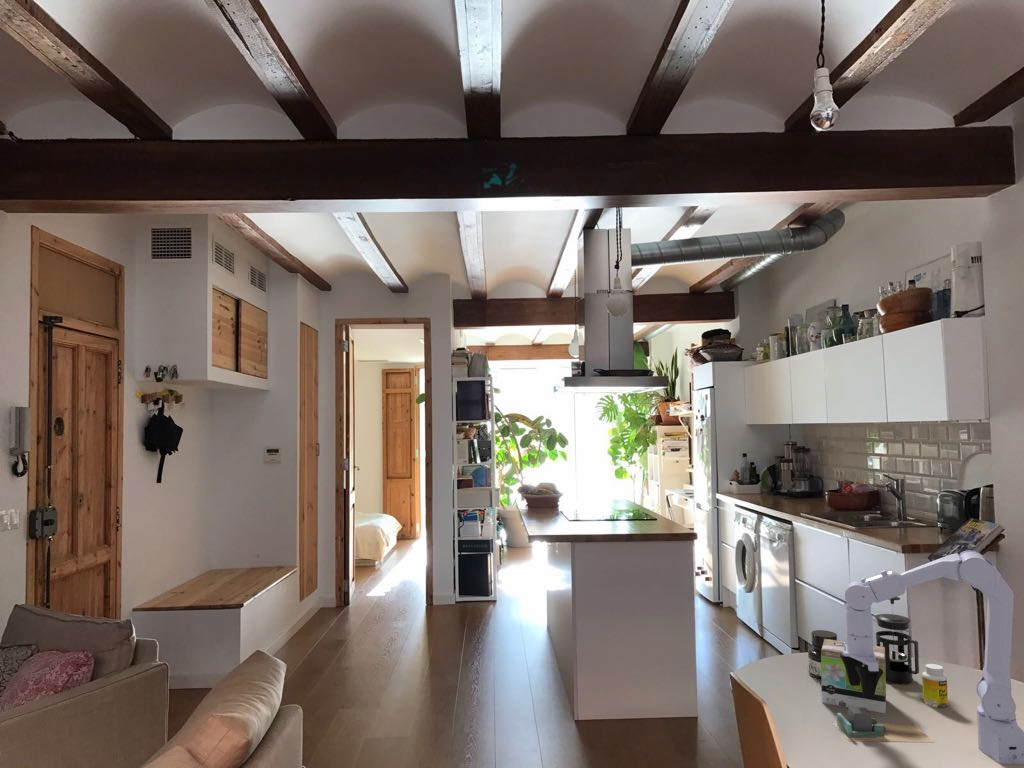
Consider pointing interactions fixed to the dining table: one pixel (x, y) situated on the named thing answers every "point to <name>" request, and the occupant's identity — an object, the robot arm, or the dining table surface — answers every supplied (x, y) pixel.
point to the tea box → (838, 684)
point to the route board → (882, 732)
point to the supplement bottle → (934, 686)
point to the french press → (896, 660)
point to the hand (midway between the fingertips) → (861, 691)
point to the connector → (860, 719)
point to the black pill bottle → (818, 651)
